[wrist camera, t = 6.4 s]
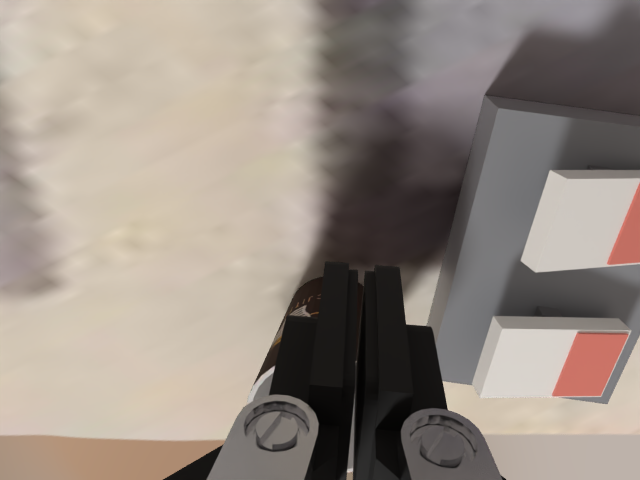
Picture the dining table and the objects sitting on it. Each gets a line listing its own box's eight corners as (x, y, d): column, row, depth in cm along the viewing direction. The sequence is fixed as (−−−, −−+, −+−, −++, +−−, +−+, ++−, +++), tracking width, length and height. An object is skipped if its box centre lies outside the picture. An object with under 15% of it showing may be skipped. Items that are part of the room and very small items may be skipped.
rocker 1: (549, 170, 26) (569, 180, 24) (670, 169, 28) (692, 178, 27) (520, 260, 28) (537, 274, 27) (634, 252, 30) (654, 264, 29)
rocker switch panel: (484, 94, 31) (502, 112, 27) (697, 123, 30) (748, 145, 26) (421, 346, 39) (428, 389, 35) (589, 369, 38) (616, 415, 34)
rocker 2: (493, 315, 30) (503, 330, 29) (618, 318, 32) (633, 332, 30) (471, 383, 32) (480, 399, 31) (589, 383, 34) (602, 398, 33)
